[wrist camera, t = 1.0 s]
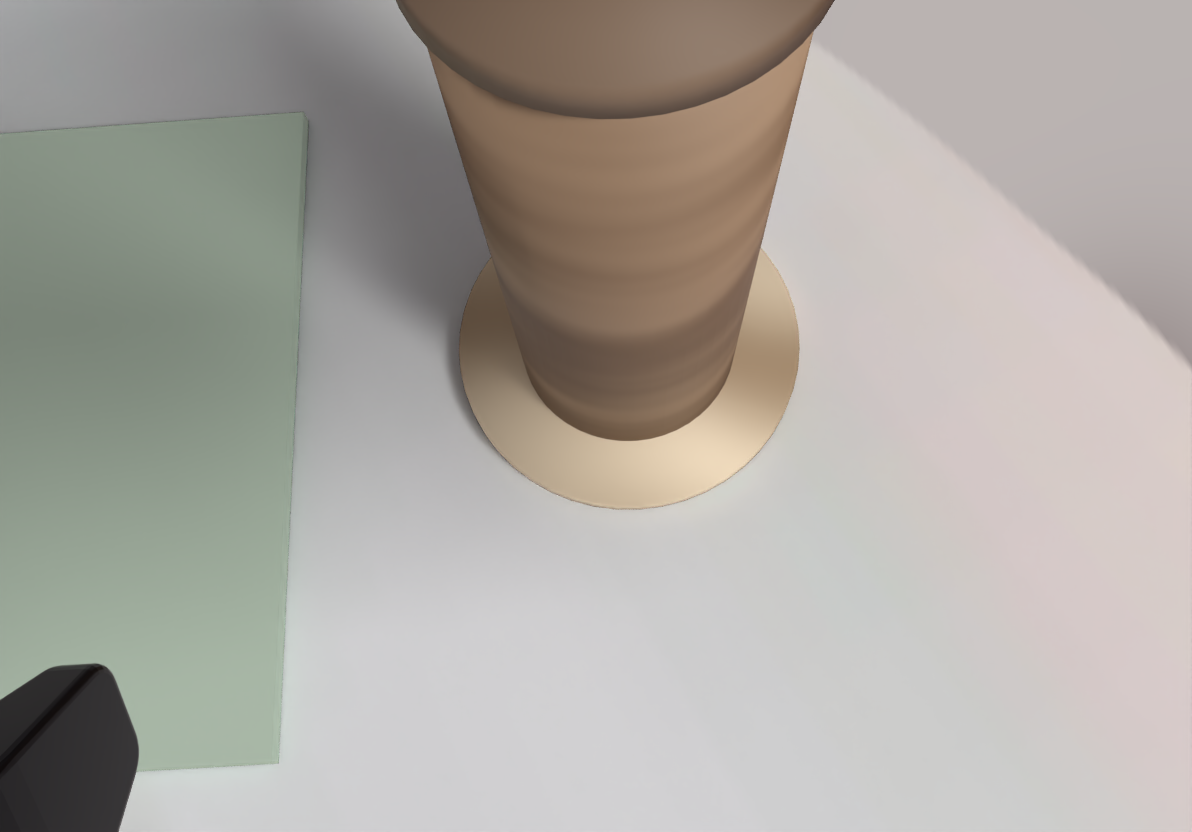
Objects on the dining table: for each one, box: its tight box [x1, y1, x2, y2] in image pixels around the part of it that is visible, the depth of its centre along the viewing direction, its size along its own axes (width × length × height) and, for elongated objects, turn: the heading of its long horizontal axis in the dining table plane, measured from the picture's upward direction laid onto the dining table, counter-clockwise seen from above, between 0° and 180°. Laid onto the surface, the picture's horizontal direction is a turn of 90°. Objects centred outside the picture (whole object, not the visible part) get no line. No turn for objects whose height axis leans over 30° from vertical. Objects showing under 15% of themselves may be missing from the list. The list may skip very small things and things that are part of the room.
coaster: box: [459, 248, 800, 509], centre depth 23 cm, size 8×8×1 cm
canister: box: [396, 0, 835, 441], centre depth 17 cm, size 5×5×13 cm
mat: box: [0, 112, 309, 772], centre depth 23 cm, size 16×14×1 cm
